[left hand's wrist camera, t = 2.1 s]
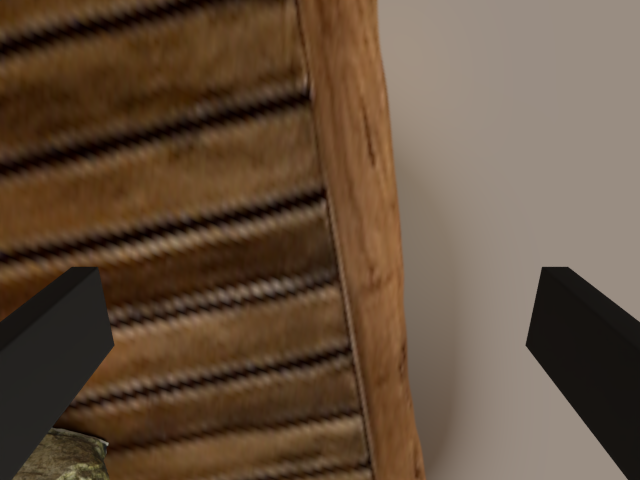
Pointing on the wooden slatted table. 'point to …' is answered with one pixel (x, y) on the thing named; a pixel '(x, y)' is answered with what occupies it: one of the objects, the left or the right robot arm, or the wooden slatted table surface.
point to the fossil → (66, 458)
